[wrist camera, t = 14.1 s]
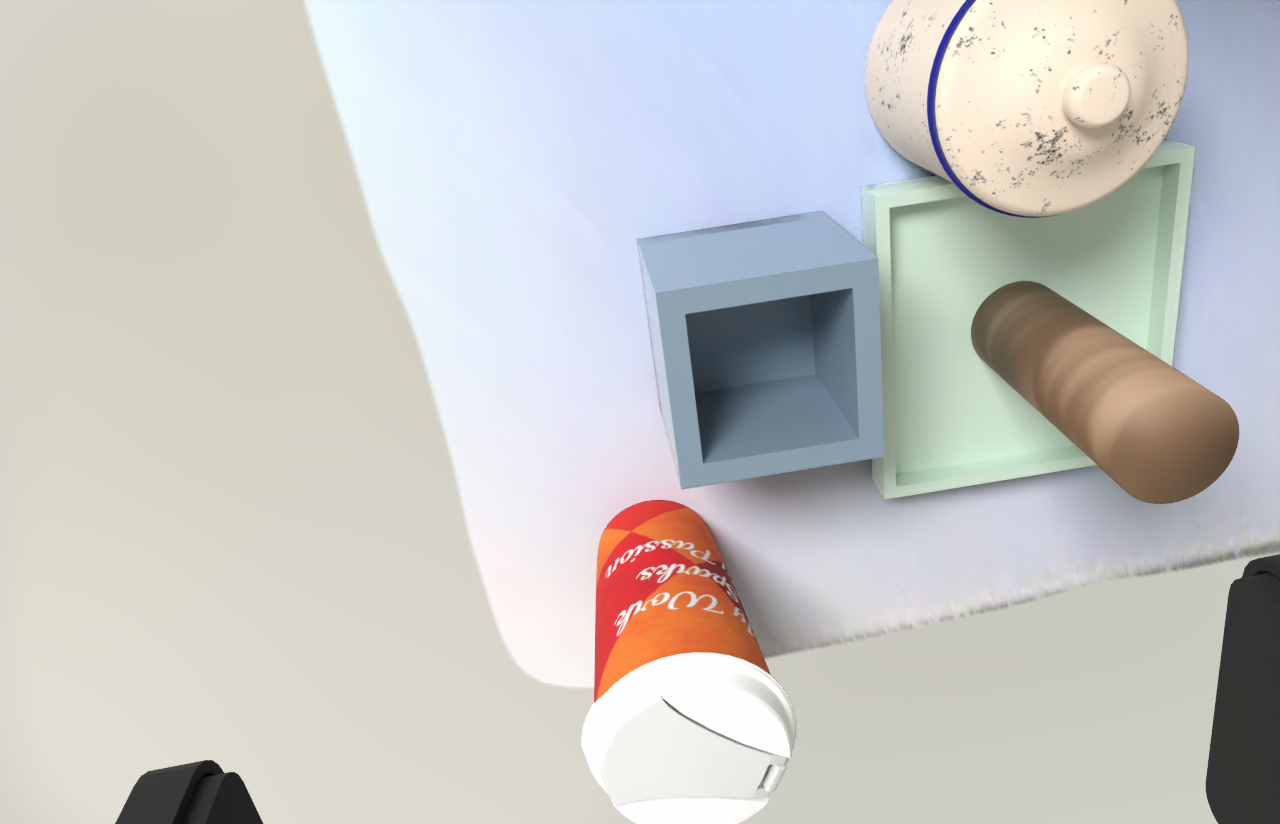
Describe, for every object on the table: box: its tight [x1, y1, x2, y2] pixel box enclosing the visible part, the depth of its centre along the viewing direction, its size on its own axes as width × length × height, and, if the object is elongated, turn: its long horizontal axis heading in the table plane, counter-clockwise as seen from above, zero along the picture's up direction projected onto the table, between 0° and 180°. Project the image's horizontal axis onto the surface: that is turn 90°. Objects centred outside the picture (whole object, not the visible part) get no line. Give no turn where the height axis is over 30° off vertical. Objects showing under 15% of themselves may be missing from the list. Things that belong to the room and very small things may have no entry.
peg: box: [971, 281, 1239, 504], centre depth 39 cm, size 4×4×13 cm
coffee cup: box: [581, 500, 796, 824], centre depth 43 cm, size 8×8×15 cm
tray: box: [861, 139, 1195, 499], centre depth 45 cm, size 15×14×2 cm
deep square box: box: [637, 211, 884, 489], centre depth 41 cm, size 8×8×8 cm
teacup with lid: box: [865, 0, 1188, 218], centre depth 35 cm, size 12×9×12 cm
